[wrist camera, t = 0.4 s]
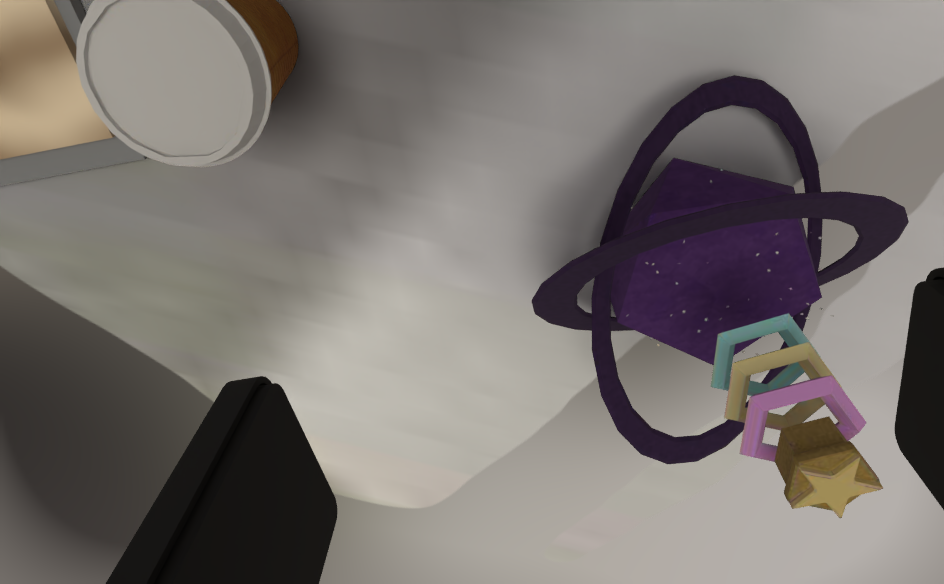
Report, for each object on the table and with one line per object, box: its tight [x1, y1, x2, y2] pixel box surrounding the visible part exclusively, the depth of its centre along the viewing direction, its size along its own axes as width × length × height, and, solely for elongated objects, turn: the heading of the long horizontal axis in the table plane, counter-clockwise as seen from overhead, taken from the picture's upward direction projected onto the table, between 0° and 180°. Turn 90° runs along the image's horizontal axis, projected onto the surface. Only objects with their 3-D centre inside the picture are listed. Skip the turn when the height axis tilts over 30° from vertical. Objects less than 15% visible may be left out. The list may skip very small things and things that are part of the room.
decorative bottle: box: [532, 75, 908, 518], centre depth 36 cm, size 22×21×25 cm
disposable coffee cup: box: [76, 0, 298, 167], centre depth 36 cm, size 10×10×12 cm
